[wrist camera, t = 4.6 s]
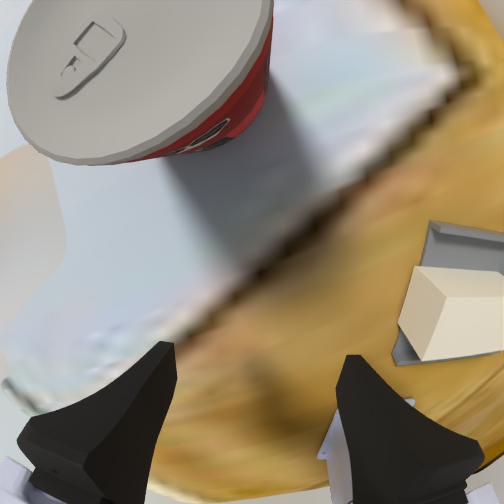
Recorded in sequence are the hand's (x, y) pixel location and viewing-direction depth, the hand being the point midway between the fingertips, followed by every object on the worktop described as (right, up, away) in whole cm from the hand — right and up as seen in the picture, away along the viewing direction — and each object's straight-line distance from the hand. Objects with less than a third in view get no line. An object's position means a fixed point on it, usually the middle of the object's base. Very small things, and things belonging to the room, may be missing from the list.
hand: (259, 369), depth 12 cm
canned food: (-3, +14, +4) cm, 15 cm away
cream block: (+10, +1, +5) cm, 11 cm away
